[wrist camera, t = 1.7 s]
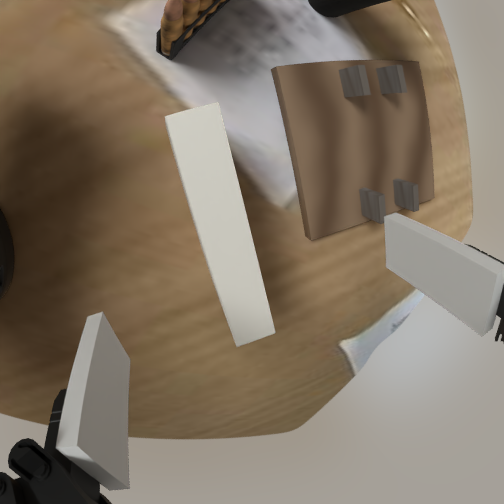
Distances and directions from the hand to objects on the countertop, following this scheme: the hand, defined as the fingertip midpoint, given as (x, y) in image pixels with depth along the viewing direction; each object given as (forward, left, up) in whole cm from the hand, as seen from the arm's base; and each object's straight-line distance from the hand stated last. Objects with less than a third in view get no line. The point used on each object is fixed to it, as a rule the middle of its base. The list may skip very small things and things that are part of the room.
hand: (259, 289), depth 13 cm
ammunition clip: (+4, +18, -18) cm, 26 cm away
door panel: (0, 0, -18) cm, 18 cm away
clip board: (+19, +2, -18) cm, 26 cm away
